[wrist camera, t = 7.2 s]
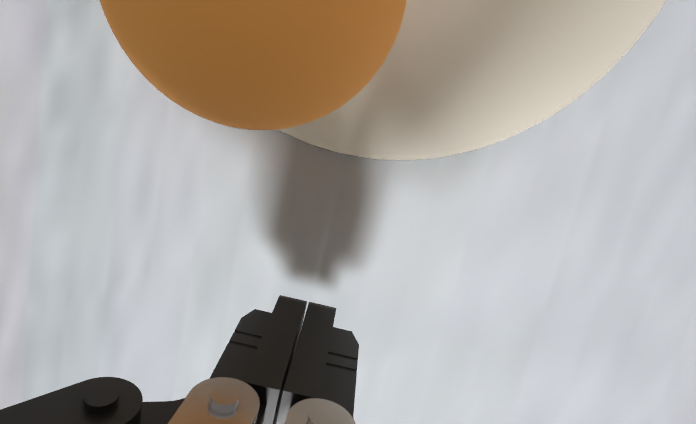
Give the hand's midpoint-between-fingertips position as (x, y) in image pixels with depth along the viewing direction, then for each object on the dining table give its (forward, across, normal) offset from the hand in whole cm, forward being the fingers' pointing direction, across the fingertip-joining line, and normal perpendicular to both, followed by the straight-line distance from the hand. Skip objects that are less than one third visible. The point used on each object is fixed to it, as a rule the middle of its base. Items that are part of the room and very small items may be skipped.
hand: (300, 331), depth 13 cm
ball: (-1, +2, -8) cm, 8 cm away
